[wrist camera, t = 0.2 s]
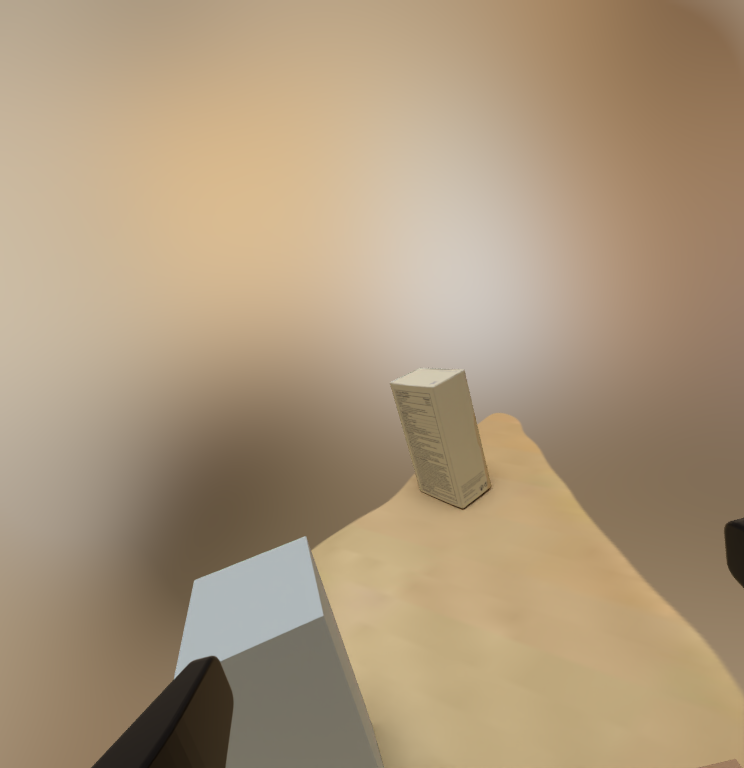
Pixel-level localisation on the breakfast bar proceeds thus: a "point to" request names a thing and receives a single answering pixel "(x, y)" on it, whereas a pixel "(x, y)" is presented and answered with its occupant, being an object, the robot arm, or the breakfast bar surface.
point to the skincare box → (442, 434)
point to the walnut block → (724, 765)
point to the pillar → (280, 664)
